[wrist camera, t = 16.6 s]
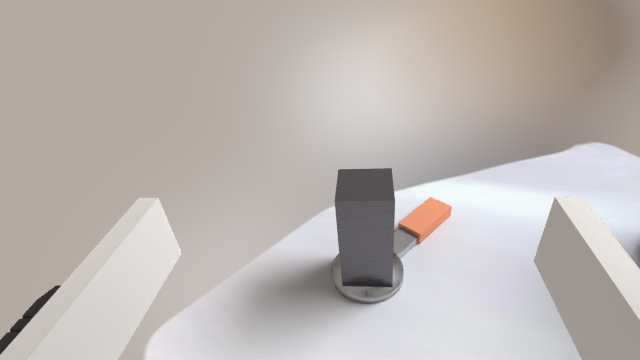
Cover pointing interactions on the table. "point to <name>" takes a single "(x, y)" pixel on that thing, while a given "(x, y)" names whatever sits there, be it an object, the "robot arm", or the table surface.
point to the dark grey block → (365, 226)
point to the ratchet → (397, 251)
